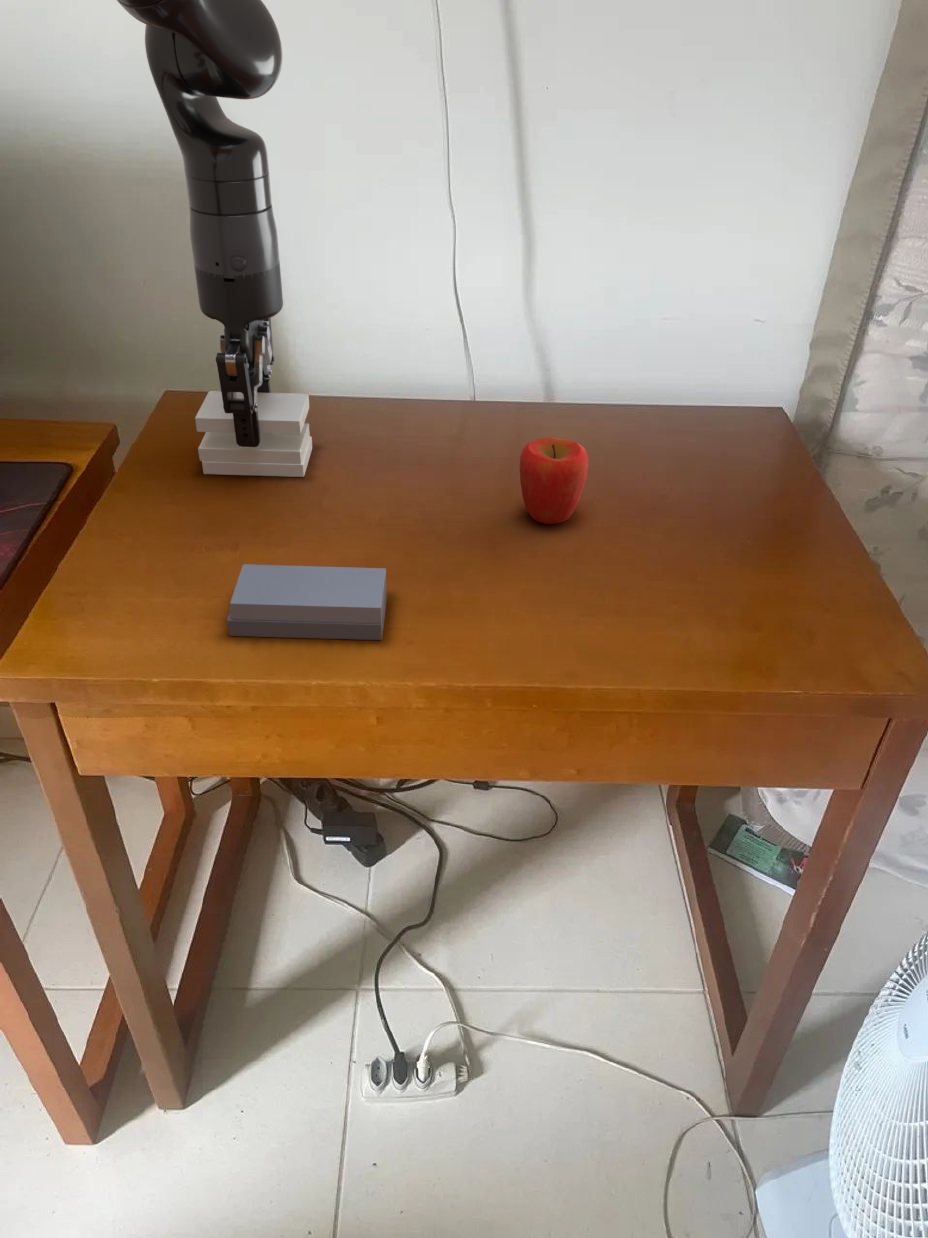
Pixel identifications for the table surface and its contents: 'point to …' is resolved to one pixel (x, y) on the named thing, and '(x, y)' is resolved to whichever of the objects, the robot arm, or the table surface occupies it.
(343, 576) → the grey books
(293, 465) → the white books
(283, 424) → the white book
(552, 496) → the apple
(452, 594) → the table surface
